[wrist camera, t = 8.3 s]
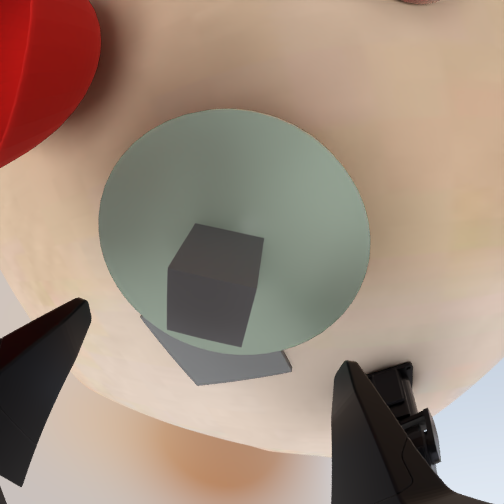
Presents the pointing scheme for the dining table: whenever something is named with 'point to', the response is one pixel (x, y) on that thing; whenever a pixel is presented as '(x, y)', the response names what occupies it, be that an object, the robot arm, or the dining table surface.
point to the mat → (219, 361)
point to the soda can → (421, 1)
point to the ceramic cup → (43, 68)
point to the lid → (234, 232)
